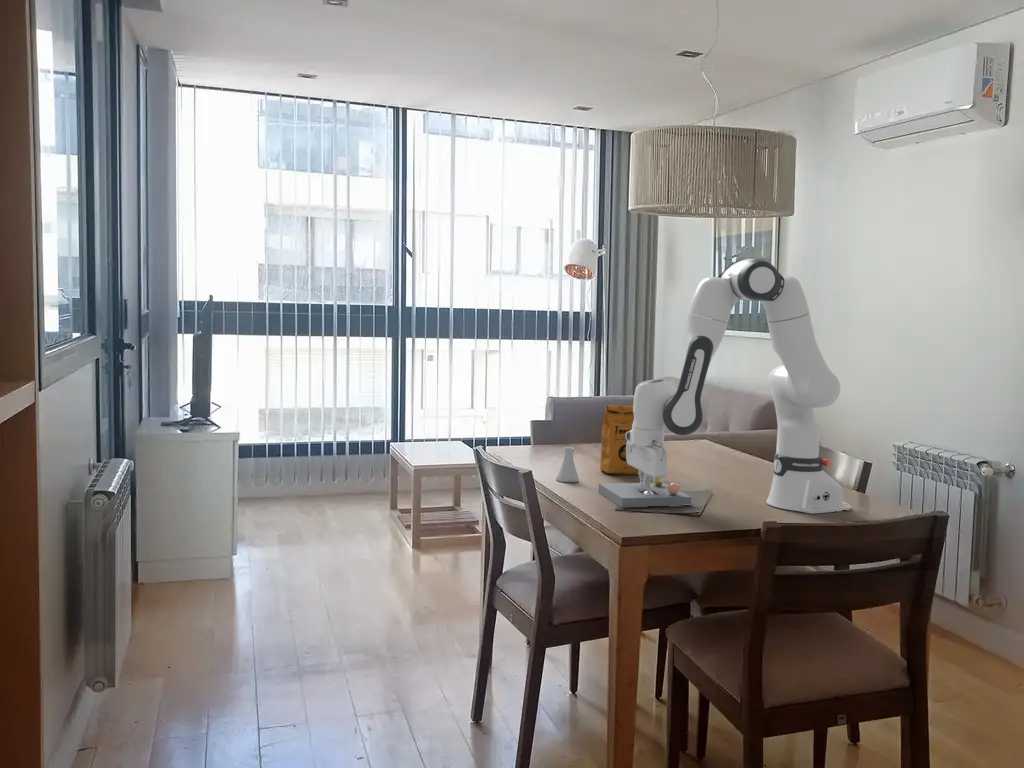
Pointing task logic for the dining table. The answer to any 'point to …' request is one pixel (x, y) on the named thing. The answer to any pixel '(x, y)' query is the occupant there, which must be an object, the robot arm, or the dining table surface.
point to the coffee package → (616, 440)
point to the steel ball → (648, 492)
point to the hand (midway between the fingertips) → (644, 487)
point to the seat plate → (641, 495)
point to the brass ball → (658, 481)
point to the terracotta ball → (673, 488)
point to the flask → (568, 467)
